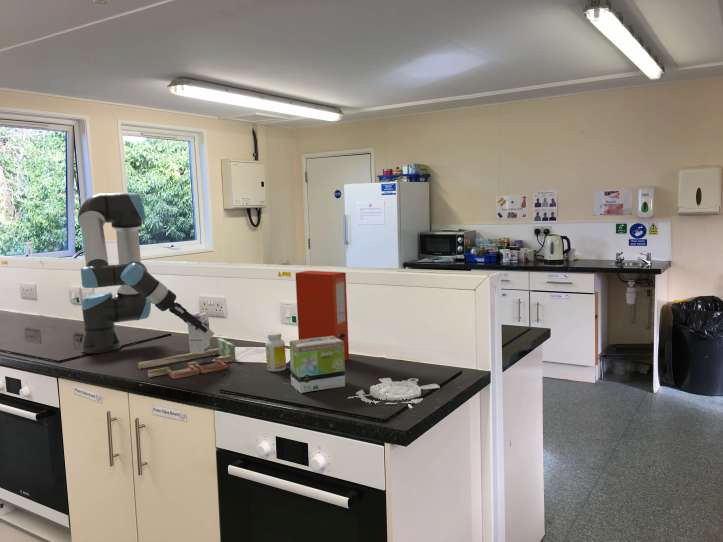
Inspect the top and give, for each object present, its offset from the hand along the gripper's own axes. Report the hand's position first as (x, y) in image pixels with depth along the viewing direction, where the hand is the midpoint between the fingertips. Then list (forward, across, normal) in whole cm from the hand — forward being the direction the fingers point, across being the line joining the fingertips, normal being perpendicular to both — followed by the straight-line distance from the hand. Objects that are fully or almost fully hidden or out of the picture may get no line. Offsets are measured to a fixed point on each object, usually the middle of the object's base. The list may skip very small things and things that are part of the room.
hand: (208, 334), depth 225 cm
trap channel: (+1, +4, -13) cm, 14 cm away
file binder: (+31, +27, +17) cm, 45 cm away
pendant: (+30, +75, +15) cm, 82 cm away
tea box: (+19, +55, +4) cm, 58 cm away
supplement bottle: (+17, +29, +3) cm, 33 cm away
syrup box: (+2, 0, -7) cm, 7 cm away
